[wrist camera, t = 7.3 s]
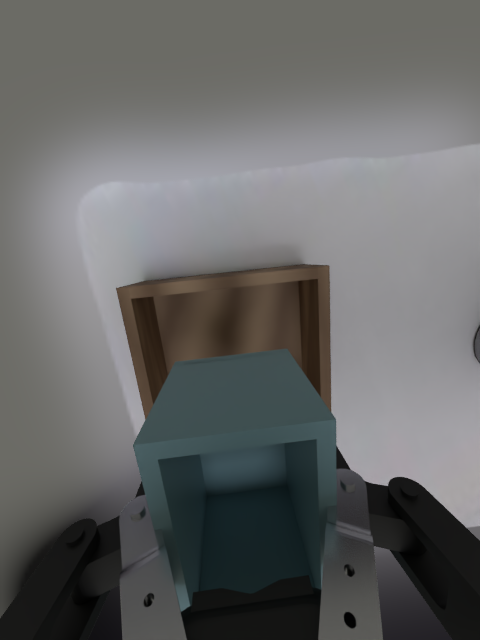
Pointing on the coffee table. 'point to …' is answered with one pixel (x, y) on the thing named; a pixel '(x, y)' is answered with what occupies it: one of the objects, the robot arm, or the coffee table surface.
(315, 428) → the teal crate
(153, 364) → the walnut crate
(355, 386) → the coffee table surface
